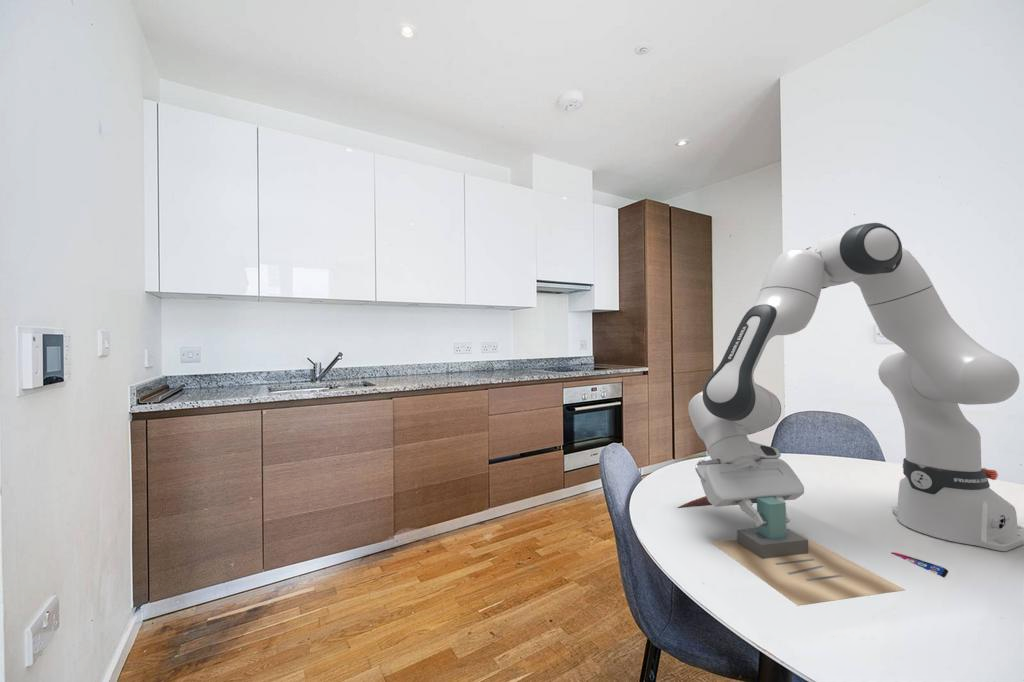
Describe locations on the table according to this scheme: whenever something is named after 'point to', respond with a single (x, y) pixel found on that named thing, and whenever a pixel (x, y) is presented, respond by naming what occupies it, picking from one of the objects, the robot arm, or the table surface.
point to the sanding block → (772, 533)
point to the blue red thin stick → (924, 565)
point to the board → (811, 574)
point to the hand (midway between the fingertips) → (774, 524)
